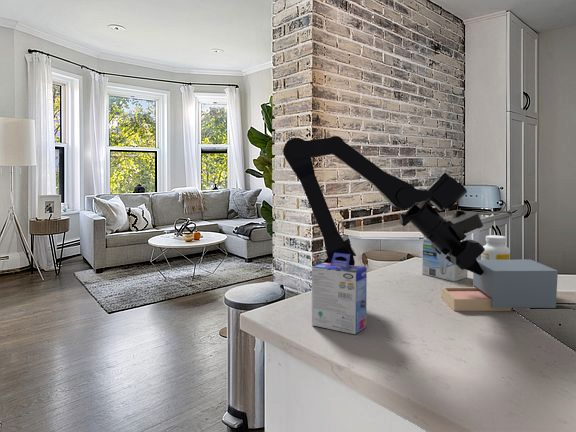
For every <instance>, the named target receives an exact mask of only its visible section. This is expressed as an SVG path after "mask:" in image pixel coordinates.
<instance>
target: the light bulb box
mask: <svg viewBox="0 0 576 432" xmlns="http://www.w3.org/2000/svg"><path fill="white" fill-rule="evenodd" d="M461 241H463V240H461ZM431 244H432V243H431V242H430V241H429V240H427V239H426V238H425V237H423V239H422V263H421V264H422V265H421V267H422V268H421V269H422V271H421V274H422V275H425V276H430V277H433V278H434V277H435V278H436V279H437V278H439V279H443V280H446V281H447V280H448V281H451V282H457V281H461V280H465V279H467V278H468V270H466V269H464V270H461V269H460V268H459V267H457V266H456V265H454V264H453V263H451V262H450V261H448V260H447V259H445V258H446V256H447V255H444V254H443V253H441V254H440V255H439V254H438V253H436V252H435V251H434V250H433V249H432V248H431ZM460 279H461V280H460Z"/></svg>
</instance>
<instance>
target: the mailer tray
mask: <svg viewBox="0 0 576 432" xmlns="http://www.w3.org/2000/svg"><path fill="white" fill-rule="evenodd" d="M440 288H441V293H440V294H441V295H440V298H441V299H442V300H443V302H444V303H445V304H447V305H448V307H450V308H451V309H452V310H453V312H475V311H476V312H511V311H512V308H492V307H491V304H492V298H491V297H490V296H488V295H487V294H486V293H484V292H483V291H481V290H480V289H479V288H477V287H473V286H472V287H470V286H468V287H467V286H466V287H465V286H464V287H463V286H461V287H458V286H457V287H455V286H453V287H451V286H450V287H443V286H442V287H440Z"/></svg>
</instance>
